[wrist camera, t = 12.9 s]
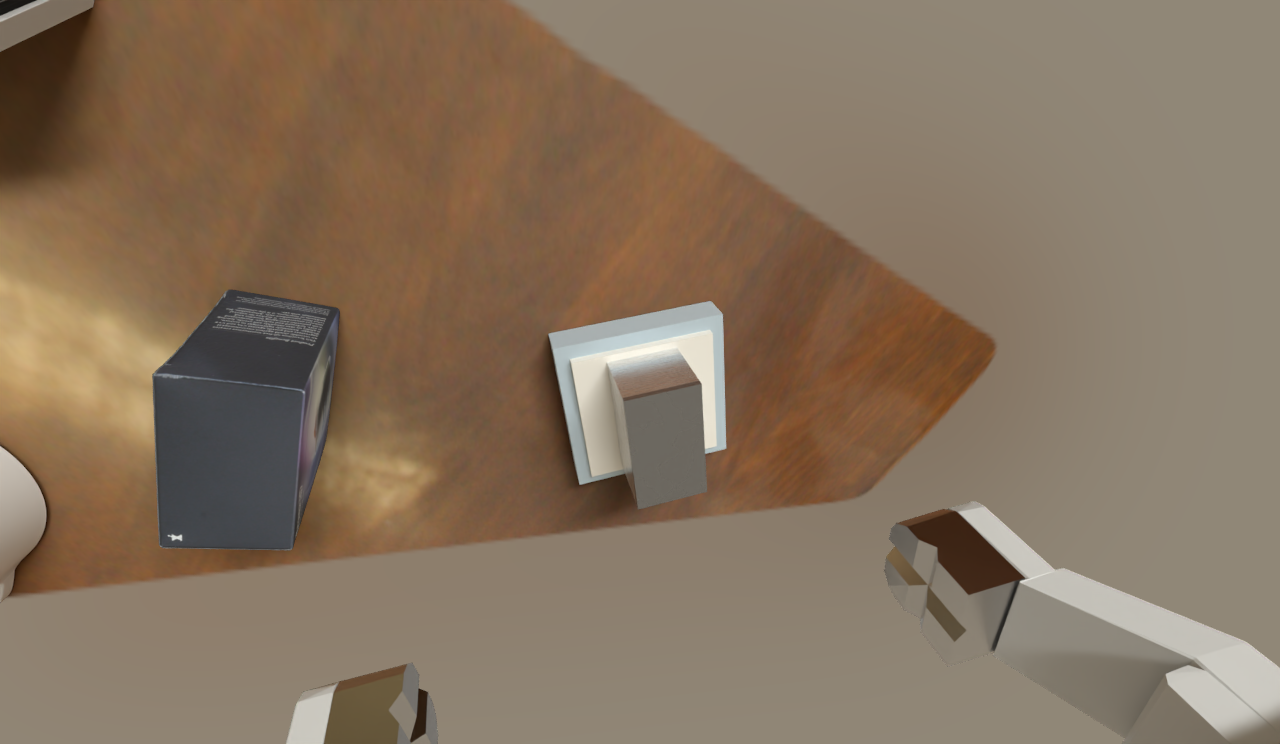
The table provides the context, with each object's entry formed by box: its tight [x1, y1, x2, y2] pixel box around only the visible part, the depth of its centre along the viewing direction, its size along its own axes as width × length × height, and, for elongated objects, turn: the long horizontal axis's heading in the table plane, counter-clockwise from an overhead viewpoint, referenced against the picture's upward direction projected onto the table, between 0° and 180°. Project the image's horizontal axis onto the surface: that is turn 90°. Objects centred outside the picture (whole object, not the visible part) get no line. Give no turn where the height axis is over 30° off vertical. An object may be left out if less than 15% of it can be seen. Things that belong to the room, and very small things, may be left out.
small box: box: [152, 290, 340, 550], centre depth 33 cm, size 11×6×10 cm, turn 162°
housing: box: [607, 348, 707, 509], centre depth 40 cm, size 9×5×5 cm, turn 6°
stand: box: [548, 301, 726, 485], centre depth 44 cm, size 12×12×3 cm
